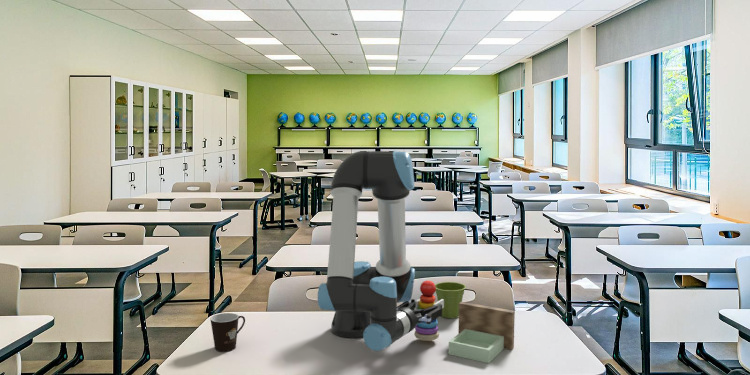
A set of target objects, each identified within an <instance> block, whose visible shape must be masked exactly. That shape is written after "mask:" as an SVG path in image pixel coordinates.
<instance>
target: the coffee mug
mask: <svg viewBox="0 0 750 375" xmlns="http://www.w3.org/2000/svg"><path fill="white" fill-rule="evenodd" d="M240 319H242V324H241V326H240V327H239V320H240ZM210 323H211V324H210V325H211V332H212V337H213V345H214V350H215V351H216V352H218V353H227V352H231V351H234V350H236V348H237V339H238V334H239V333H240V331H241V330H242V329H243V328H244V326H245V324H246V318H245V316H243V315H239V314H237V313H233V312H222V313H218V314H214V315H213V316H211V317H210Z"/></svg>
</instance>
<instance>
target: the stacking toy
mask: <svg viewBox="0 0 750 375" xmlns="http://www.w3.org/2000/svg"><path fill="white" fill-rule="evenodd" d="M435 284H436V283H434V282H433V281H431V280H424V281H423V282H422V283H421V284H420V286H419V290H420V293H421V295H420V296H419V299H420V300H421V301H420V302H419V309H422V310H423V309H426V308H429V307H432V306H433V304H435V303H436V298H437V297H436V296H435V295H434V294H436V286H435ZM438 324H439V322H438V319H435V320H433V321H432V322H431V324H427V322H425V321H422V322H421V323H417V325H416V327H415V328H414V329H415V331H414V337H415V338H416V339H418V340H420V341H426V342H427V341H429V342H430V341H435V340H437V339H439V336H440V333H439V327H438Z"/></svg>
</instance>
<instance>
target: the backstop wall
mask: <svg viewBox="0 0 750 375" xmlns="http://www.w3.org/2000/svg"><path fill="white" fill-rule="evenodd" d="M515 312H516V311H515V310H511V309H505V308H500V307H494V306H488V305H487V306H486V305H482V304H477V303H469V302H464V301H462V302H460V303H459V317H458V330H457V331H458V334H459V333H460V332H462V331H463V330H464V329H469V330H474V331H479V332H484V333H489V334H494V335H499V336H504V349H505V350H513V349H514V348H515V320H516V319H515V318H516V317H515ZM458 334H457V335H458Z"/></svg>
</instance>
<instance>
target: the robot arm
mask: <svg viewBox="0 0 750 375" xmlns="http://www.w3.org/2000/svg"><path fill="white" fill-rule="evenodd" d="M413 166H414V165H413V162H412V156H411V155H410V153H408V152H407V151H397V150H391V151H389V150H388V151H387V150H386V151H383V150H382V151H379V150H377V151H374V150H372V151H369V150H367V151H366V150H360V151H355V152H353V153H352V154H350V155H348V156H347V157H346V158H344V159H343V160H342V162H340V164H339V165H338V167H337V168H336V170H335V173H334V174H333V177H332V179H331V184H330V193H329V194H330V196H332V198H333V199H332V211H331V221H330V222H331V224H330V236H329V247H328V248H329V249H328V261H327V262H328V263H327V274H326V277H327V279H326V282H322V283H320V285H318V291H317V305H318V307H319V309H320V310H322V311H323V310H324V311H332V312H334V315H333V318H332V321H331V333H333V335H335V336H338V337H341V338H348V339H349V338H351V339H353V338H362V339H363V341H364V343H365V345H366V347H367V348H369V350H372V351H374V352H379V351H382V350H384V349H387V348H389V347H390V346H391V345H393V344H394V343H395V342H396V341H398V340H400V339H401V338H403V337H404V336H406V335H407V334H409V333H410V332H412V331H413V330H414V329H415V327H416V325H417V323H421V322H422V321H425V322H427V324H431V322H432V321H433V320H435V319H436V320H438V318H440V317H442V308H444V299H441V300H439V301H438V300H437V301H435V304H433V306H432V307H429V308H426V309H423V310H422V309H419V302H420V301H421V300H420V298H417V299H414V298H412V296H413V290H414V283H415V277H416V276H415V274H416V269H415V268H414V267H412V266H411V263H410V261H409V260H408V259H407V256H406V255H407V254H406V253H407V252H406V250H407V249H406V245H407V244H406V243H407V242H406V202H405V201H406V198H408V197H409V196H410V192H411V191H412V190H413V189H415V176H414V167H413ZM363 190H372V192H371V193H372V196H373V197H374V199H376V200H377V212H378V213H377V218H378V222H377V223H378V224H377V225H378V240H379V241H378V245H379V247H378V248H379V260H378V261H377V262H376V264H375V266H372V265H371V263H370V261H365V260H364V261H363V260H361V261H359V260H358V261H355V260H356V259H355V257H356V246H357V244H356V243H357V242H356V239H357V227H358V226H357V225H358V213H359V212H358V210H359V199H360V198H361V197H362V196H363ZM398 304H399V305H398Z"/></svg>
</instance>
